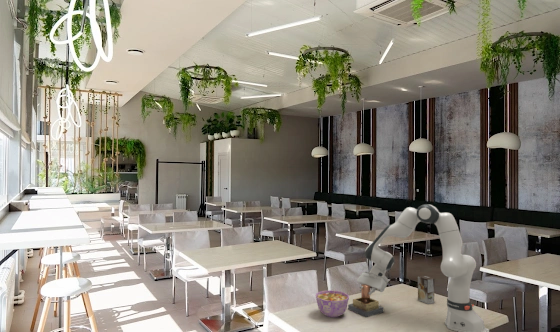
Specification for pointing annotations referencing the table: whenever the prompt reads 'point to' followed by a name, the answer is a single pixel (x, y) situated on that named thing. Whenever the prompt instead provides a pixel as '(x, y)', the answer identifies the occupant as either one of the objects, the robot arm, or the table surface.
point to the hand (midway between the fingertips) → (365, 292)
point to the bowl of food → (332, 302)
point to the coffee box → (426, 289)
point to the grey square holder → (365, 307)
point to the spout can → (365, 293)
